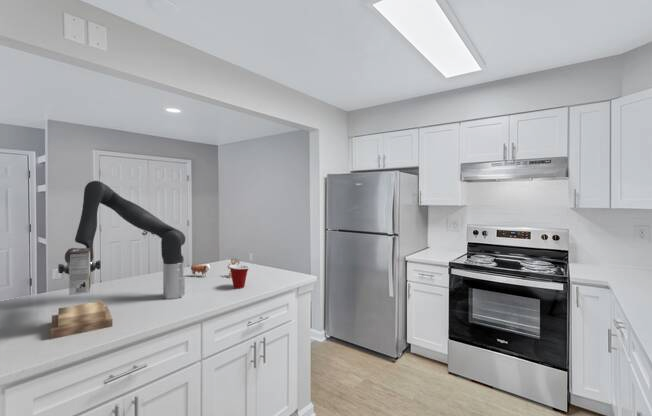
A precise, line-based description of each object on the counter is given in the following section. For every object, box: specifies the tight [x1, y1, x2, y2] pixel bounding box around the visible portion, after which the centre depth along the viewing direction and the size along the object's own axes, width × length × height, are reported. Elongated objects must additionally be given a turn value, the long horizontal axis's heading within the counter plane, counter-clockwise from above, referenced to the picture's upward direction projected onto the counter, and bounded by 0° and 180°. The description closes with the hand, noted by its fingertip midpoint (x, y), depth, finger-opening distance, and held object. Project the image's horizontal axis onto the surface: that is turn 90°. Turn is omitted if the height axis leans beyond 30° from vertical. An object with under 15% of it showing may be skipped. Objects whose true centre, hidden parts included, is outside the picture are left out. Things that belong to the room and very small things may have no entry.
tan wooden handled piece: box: [225, 257, 240, 279], centre depth 202 cm, size 9×4×12 cm, turn 136°
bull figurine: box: [190, 263, 211, 278], centre depth 200 cm, size 4×13×8 cm, turn 78°
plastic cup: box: [229, 264, 250, 289], centre depth 178 cm, size 11×11×12 cm
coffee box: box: [68, 247, 92, 296], centre depth 124 cm, size 9×6×16 cm
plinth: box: [50, 301, 113, 340], centre depth 124 cm, size 18×18×6 cm
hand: (80, 270), depth 122 cm, fingers closed on coffee box, 6 cm apart
